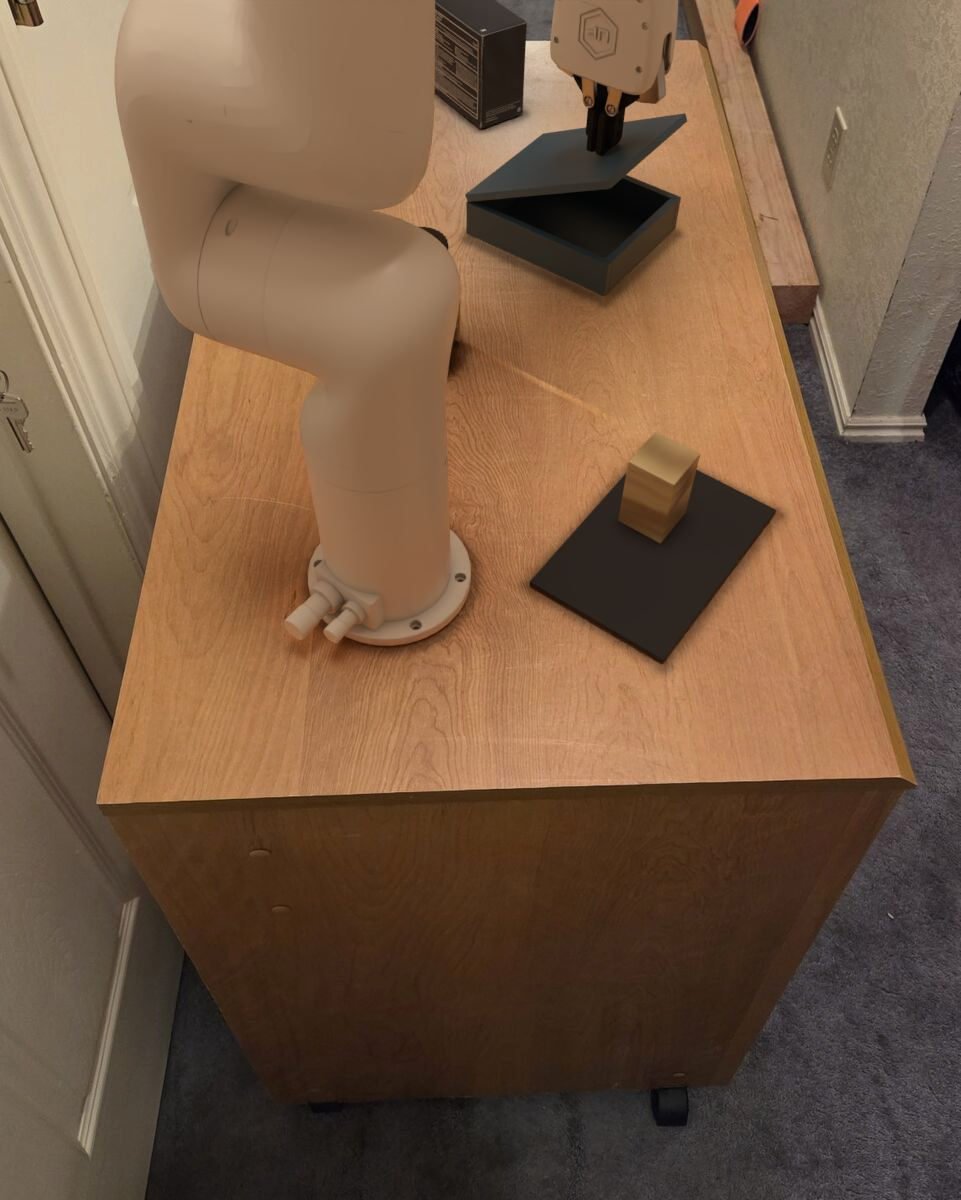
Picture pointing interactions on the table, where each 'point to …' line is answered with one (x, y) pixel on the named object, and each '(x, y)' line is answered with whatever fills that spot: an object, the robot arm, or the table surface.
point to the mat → (653, 565)
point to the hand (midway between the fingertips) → (602, 146)
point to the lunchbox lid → (574, 161)
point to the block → (658, 486)
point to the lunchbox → (580, 229)
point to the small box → (480, 59)
